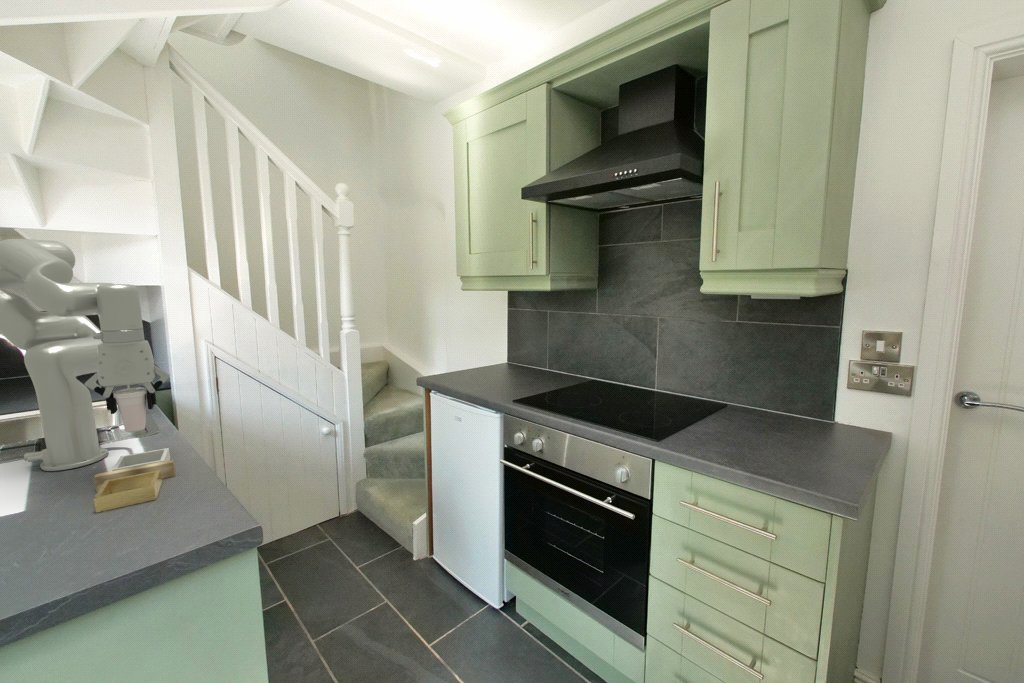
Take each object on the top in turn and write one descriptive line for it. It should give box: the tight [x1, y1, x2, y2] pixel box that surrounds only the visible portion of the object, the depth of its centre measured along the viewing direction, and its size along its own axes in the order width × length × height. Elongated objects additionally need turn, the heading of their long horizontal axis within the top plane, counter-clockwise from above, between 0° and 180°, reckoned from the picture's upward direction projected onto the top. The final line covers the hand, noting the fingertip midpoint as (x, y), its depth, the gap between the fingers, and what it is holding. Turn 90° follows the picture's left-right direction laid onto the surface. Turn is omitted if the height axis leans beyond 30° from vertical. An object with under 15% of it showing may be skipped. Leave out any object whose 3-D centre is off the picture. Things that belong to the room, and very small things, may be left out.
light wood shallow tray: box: [93, 470, 163, 514], centre depth 96 cm, size 10×10×3 cm
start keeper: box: [111, 447, 171, 471], centre depth 109 cm, size 10×10×3 cm
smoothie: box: [113, 385, 148, 433], centre depth 107 cm, size 6×6×14 cm
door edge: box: [93, 459, 177, 493], centre depth 103 cm, size 14×2×4 cm, turn 122°
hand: (133, 409), depth 107 cm, fingers closed on smoothie, 6 cm apart
